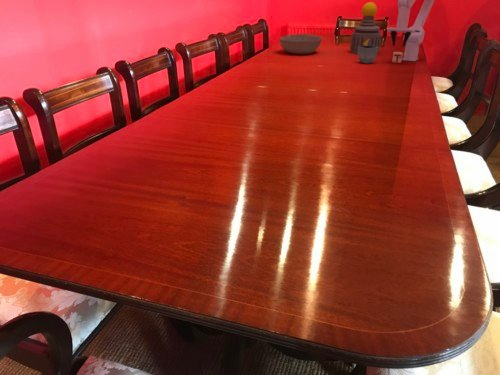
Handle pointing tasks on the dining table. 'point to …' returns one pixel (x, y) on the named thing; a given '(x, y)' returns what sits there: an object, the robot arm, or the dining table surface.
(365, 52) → the flower pot
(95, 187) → the dining table surface
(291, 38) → the bowl
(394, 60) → the letter cube
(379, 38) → the decorative lamp
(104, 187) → the dining table surface
